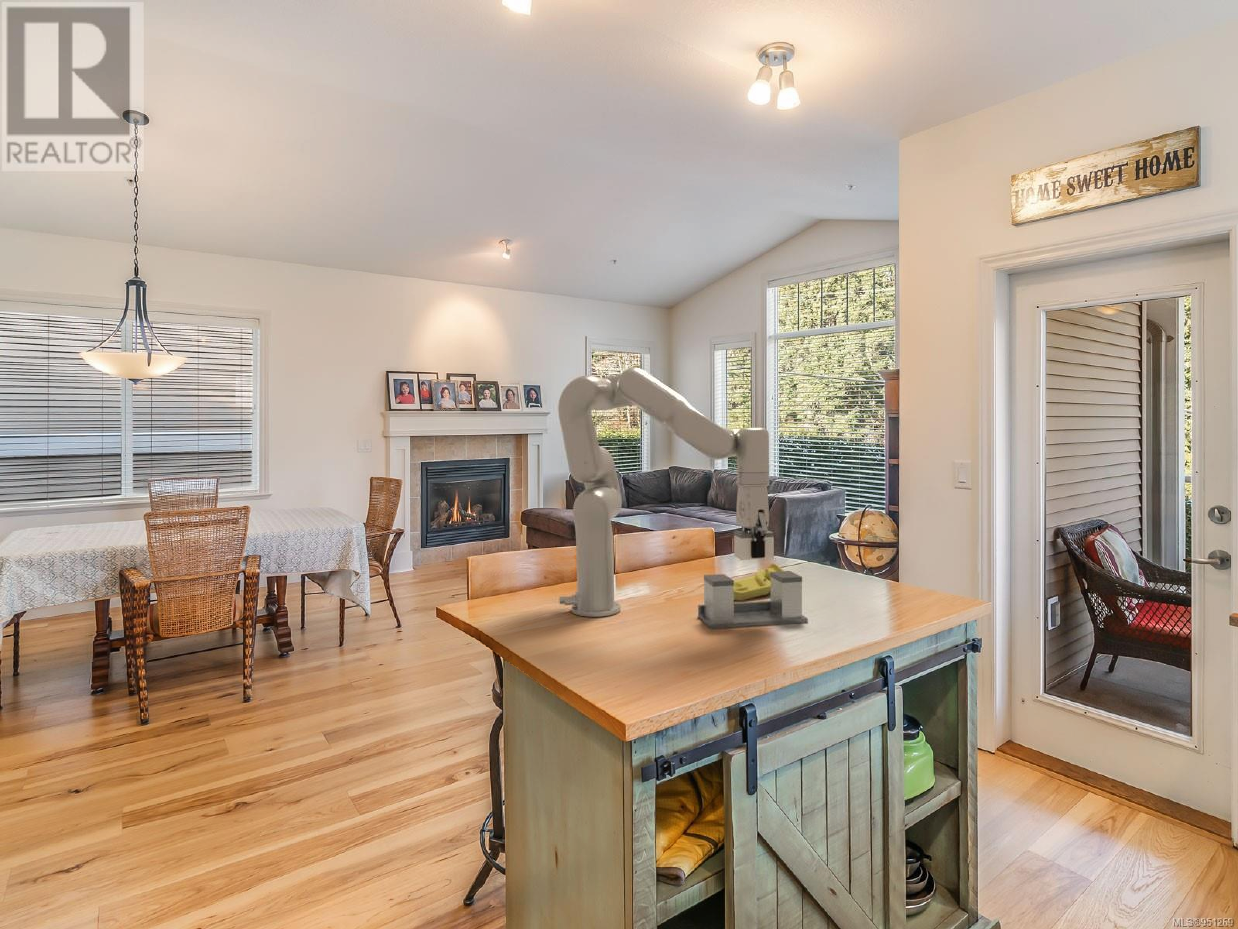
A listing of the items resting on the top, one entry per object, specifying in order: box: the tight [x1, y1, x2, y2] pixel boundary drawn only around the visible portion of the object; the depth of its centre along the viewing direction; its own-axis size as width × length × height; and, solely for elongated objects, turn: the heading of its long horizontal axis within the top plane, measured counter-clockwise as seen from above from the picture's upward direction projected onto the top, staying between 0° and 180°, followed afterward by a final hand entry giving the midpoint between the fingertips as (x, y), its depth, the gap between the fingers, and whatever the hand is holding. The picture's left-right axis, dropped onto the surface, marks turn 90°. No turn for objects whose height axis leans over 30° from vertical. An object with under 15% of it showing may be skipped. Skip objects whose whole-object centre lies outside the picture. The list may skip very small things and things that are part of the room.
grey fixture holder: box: [697, 570, 809, 630], centre depth 160 cm, size 24×10×11 cm, turn 99°
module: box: [733, 530, 775, 561], centre depth 158 cm, size 8×5×6 cm, turn 100°
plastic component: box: [734, 563, 785, 602], centre depth 186 cm, size 20×7×10 cm
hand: (753, 554), depth 158 cm, fingers closed on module, 5 cm apart
